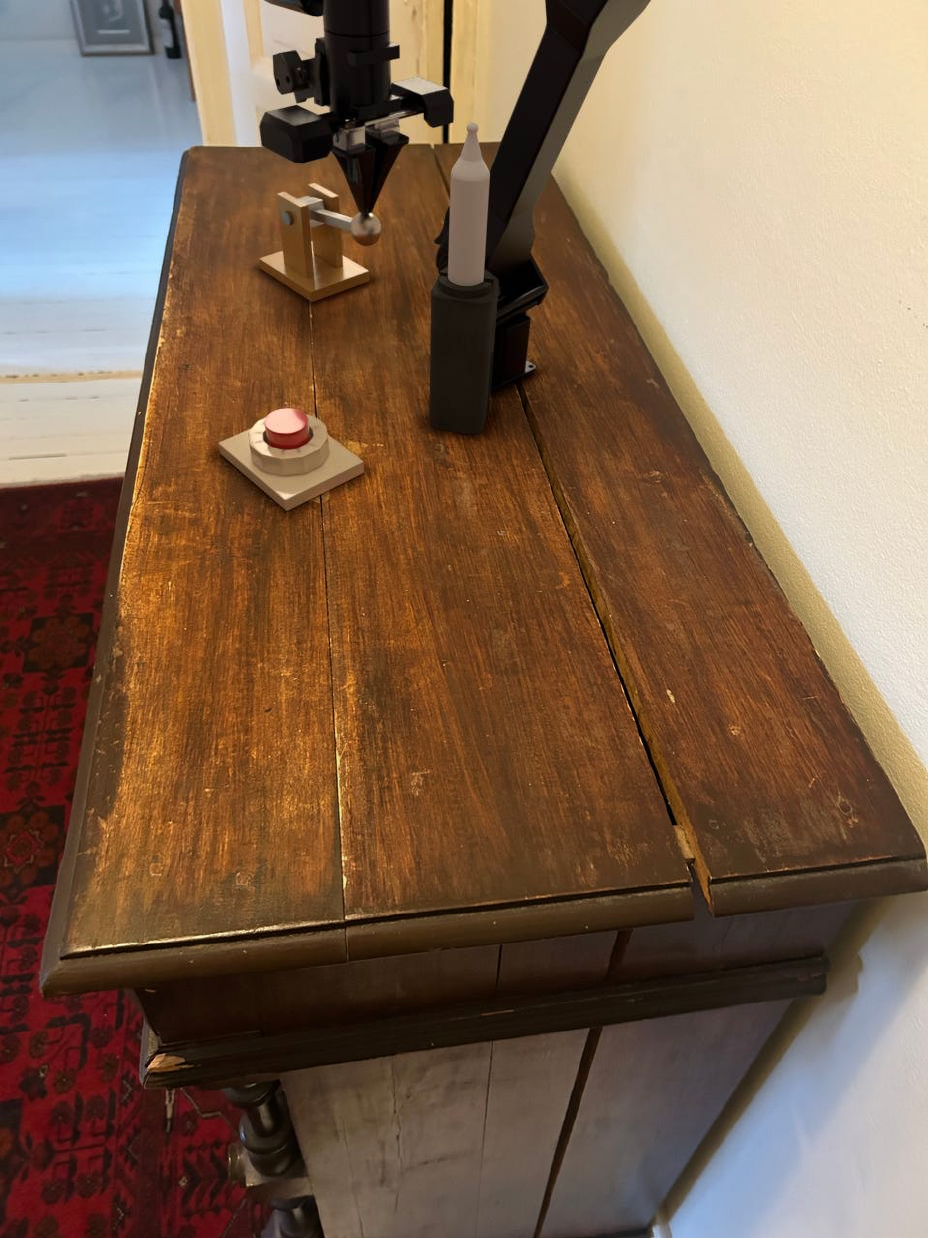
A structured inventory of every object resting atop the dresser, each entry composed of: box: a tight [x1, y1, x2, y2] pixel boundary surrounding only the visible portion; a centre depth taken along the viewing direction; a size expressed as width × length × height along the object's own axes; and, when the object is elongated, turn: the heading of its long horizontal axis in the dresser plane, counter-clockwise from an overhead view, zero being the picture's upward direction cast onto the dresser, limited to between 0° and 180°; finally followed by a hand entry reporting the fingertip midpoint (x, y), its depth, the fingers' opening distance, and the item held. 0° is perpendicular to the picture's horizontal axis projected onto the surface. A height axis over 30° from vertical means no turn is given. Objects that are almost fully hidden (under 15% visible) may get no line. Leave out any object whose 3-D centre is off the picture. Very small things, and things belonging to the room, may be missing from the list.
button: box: [264, 407, 310, 450], centre depth 72 cm, size 4×4×2 cm
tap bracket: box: [258, 182, 371, 303], centre depth 95 cm, size 10×8×9 cm
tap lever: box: [297, 195, 383, 247], centre depth 90 cm, size 13×3×3 cm, turn 42°
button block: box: [217, 414, 365, 512], centre depth 74 cm, size 10×8×3 cm
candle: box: [428, 121, 499, 435], centre depth 72 cm, size 5×5×25 cm
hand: (365, 212), depth 86 cm, fingers closed
